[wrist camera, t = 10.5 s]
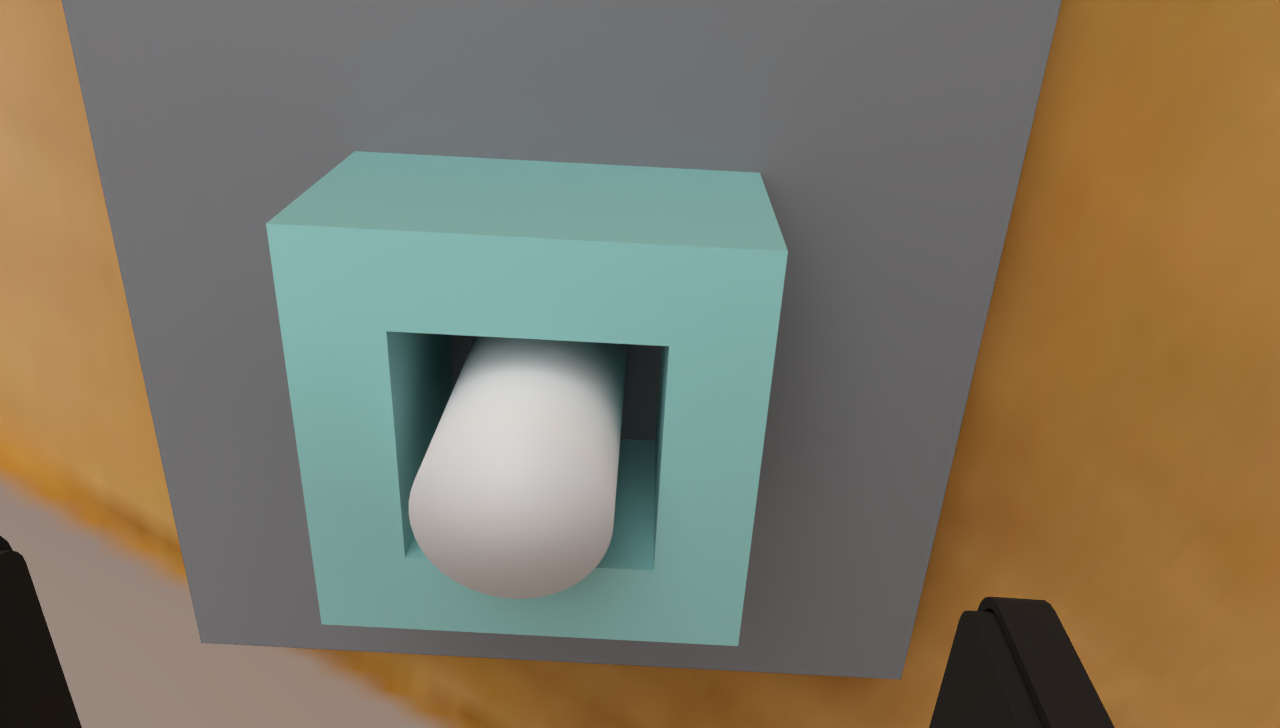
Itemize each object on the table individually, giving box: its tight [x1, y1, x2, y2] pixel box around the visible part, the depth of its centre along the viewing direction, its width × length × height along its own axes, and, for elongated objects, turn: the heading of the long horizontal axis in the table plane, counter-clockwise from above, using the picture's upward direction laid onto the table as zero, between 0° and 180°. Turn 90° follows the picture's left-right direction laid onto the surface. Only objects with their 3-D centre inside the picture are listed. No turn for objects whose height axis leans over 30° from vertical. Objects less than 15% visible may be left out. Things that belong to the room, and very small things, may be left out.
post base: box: [62, 0, 1062, 679], centre depth 16 cm, size 16×16×7 cm
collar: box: [266, 151, 788, 646], centre depth 16 cm, size 7×7×4 cm
